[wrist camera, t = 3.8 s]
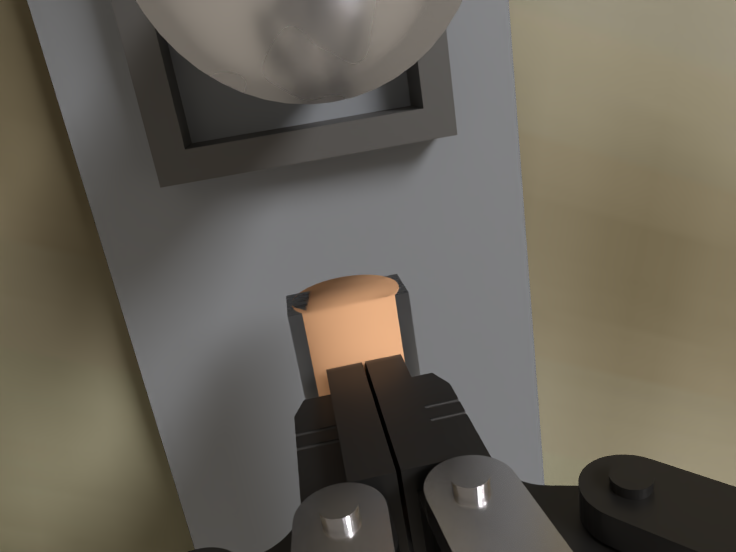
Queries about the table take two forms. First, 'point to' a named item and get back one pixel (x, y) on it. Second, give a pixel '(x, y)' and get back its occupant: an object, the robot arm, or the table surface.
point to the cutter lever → (350, 326)
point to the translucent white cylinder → (301, 42)
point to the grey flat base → (297, 240)
